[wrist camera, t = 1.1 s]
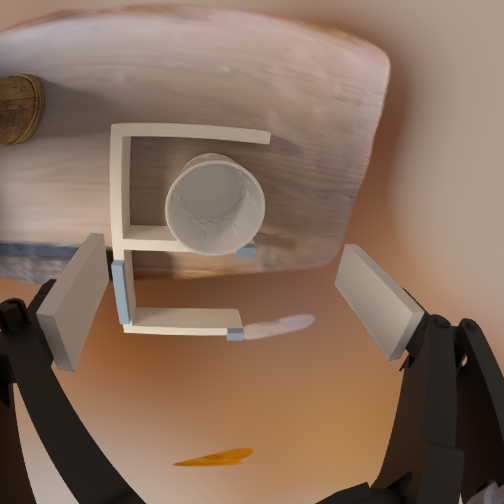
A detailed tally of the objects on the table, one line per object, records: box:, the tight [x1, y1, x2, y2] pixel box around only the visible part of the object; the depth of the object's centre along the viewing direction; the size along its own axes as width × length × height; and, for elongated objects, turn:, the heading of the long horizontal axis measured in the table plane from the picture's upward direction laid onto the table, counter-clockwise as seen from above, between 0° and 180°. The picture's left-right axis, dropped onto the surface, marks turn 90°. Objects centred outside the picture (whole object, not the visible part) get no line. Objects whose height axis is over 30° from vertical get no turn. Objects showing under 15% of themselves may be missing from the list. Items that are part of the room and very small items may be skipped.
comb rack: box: [110, 123, 271, 340], centre depth 31 cm, size 15×25×5 cm, turn 172°
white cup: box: [165, 152, 265, 256], centre depth 27 cm, size 8×8×10 cm
